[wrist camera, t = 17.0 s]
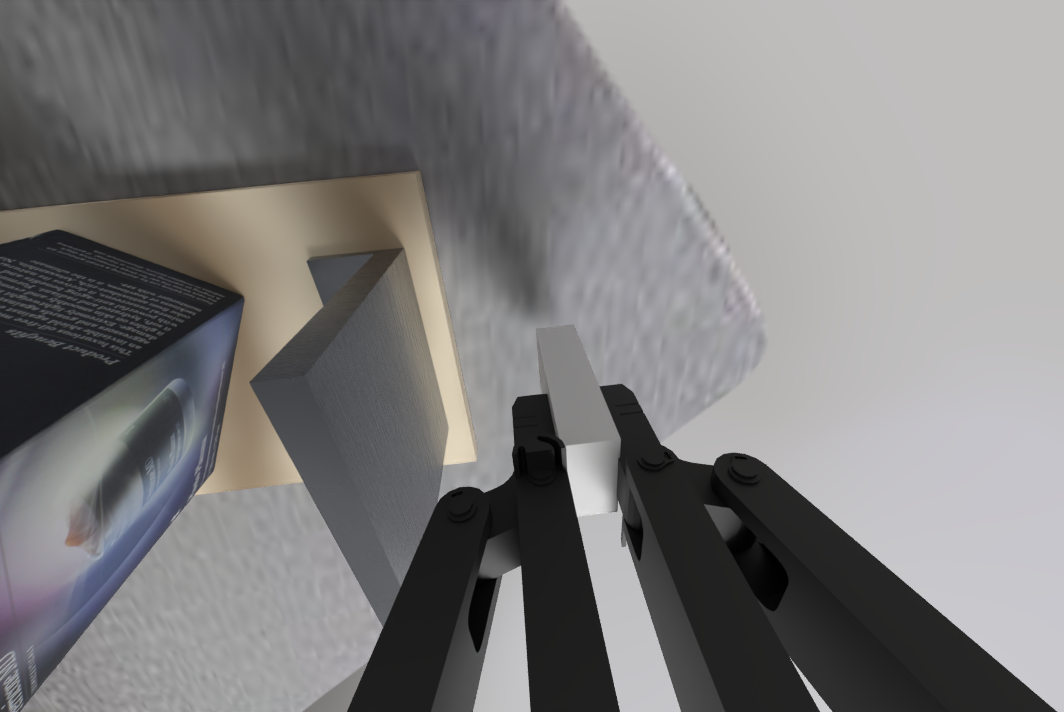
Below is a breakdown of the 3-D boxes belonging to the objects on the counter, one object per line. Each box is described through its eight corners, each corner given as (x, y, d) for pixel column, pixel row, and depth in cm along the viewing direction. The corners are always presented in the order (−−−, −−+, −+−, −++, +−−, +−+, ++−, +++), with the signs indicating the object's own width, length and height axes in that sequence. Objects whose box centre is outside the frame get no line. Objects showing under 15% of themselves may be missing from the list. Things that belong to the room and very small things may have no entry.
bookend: (378, 435, 19) (300, 641, 11) (311, 257, 15) (106, 398, 7) (448, 427, 19) (418, 626, 12) (404, 247, 15) (305, 376, 7)
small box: (225, 474, 20) (-4, 767, 11) (66, 436, 18) (-378, 754, 9) (257, 296, 15) (-88, 537, 6) (50, 221, 13) (-881, 411, 4)
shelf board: (-166, 524, 20) (-195, 542, 20) (-570, 265, 13) (-643, 275, 12) (477, 447, 22) (476, 461, 21) (419, 170, 14) (415, 173, 14)
